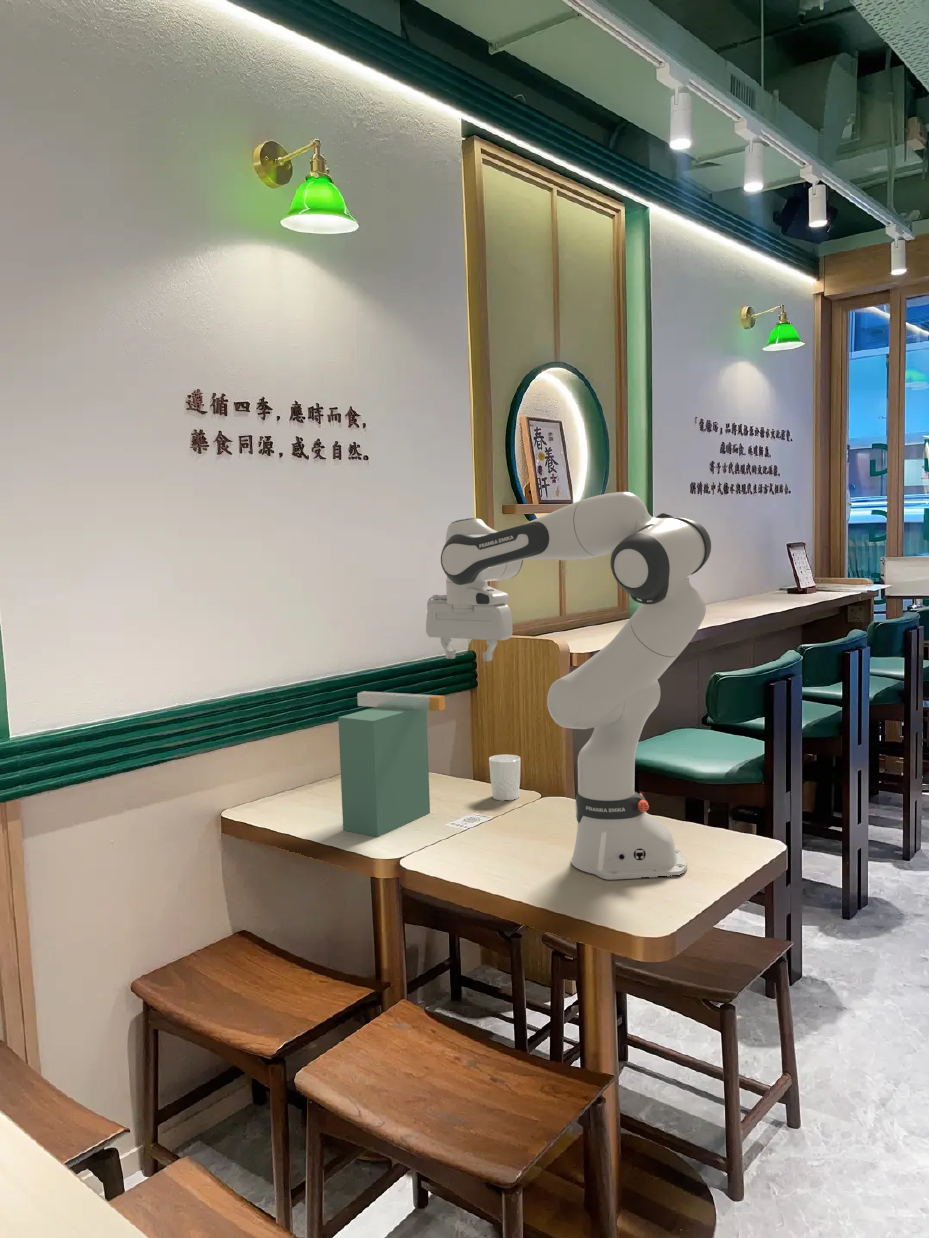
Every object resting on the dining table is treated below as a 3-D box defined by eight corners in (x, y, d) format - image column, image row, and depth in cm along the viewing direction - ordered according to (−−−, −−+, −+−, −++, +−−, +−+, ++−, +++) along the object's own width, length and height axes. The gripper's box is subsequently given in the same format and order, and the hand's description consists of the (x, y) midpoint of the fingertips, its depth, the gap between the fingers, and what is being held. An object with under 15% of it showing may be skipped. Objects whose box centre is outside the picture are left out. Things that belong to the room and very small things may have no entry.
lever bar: (445, 708, 215) (444, 695, 215) (439, 710, 212) (438, 697, 212) (364, 703, 225) (364, 691, 225) (357, 705, 222) (357, 693, 222)
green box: (430, 812, 222) (426, 705, 220) (377, 836, 206) (373, 720, 203) (396, 807, 228) (392, 702, 225) (343, 830, 211) (338, 717, 209)
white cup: (487, 801, 231) (486, 761, 230) (492, 792, 238) (491, 754, 237) (519, 801, 229) (518, 762, 228) (523, 793, 237) (522, 754, 236)
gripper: (418, 595, 202) (421, 659, 203) (500, 597, 191) (501, 663, 192) (435, 593, 207) (437, 655, 208) (515, 594, 196) (517, 659, 197)
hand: (469, 659), depth 200 cm, fingers open, 8 cm apart
